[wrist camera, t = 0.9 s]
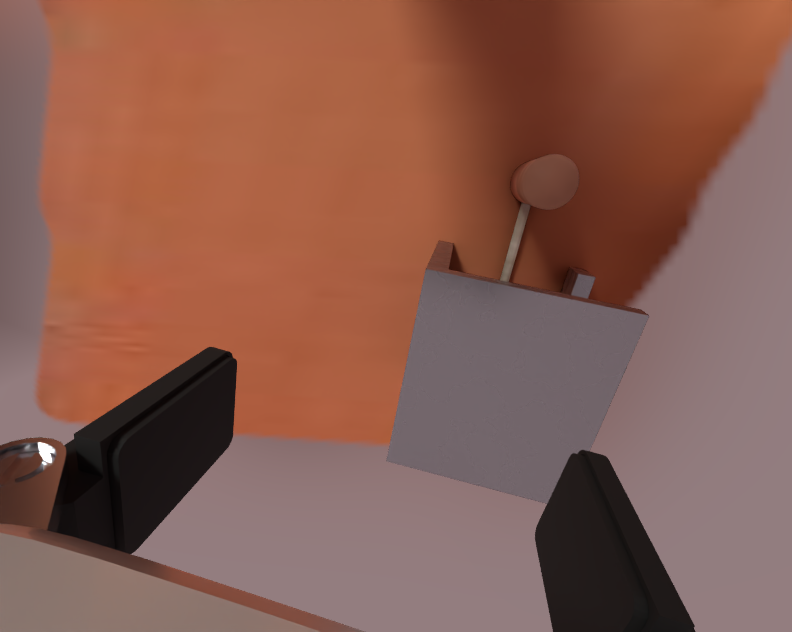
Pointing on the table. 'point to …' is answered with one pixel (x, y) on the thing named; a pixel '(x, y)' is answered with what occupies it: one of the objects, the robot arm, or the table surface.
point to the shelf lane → (508, 377)
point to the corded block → (539, 194)
